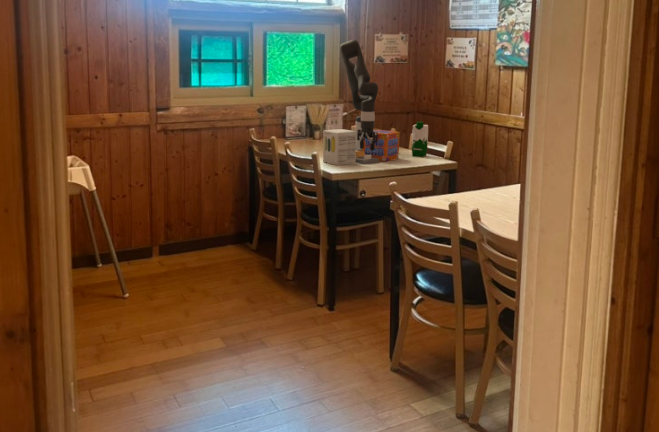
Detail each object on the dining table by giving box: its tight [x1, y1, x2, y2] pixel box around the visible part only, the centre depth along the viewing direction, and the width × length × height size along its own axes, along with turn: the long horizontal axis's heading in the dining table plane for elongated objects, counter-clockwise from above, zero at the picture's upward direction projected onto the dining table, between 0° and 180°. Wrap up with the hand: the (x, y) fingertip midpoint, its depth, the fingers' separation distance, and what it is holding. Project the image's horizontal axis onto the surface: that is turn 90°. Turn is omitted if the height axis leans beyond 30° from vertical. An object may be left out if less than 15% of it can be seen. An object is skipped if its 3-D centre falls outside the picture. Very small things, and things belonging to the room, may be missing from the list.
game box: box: [361, 129, 401, 163], centre depth 402 cm, size 16×16×16 cm
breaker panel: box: [355, 155, 380, 165], centre depth 394 cm, size 11×18×4 cm, turn 38°
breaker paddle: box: [356, 150, 365, 157], centre depth 394 cm, size 5×2×3 cm, turn 128°
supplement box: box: [322, 128, 357, 166], centre depth 387 cm, size 13×13×18 cm
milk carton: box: [411, 121, 429, 158], centre depth 413 cm, size 9×9×20 cm
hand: (367, 149), depth 389 cm, fingers open, 8 cm apart
